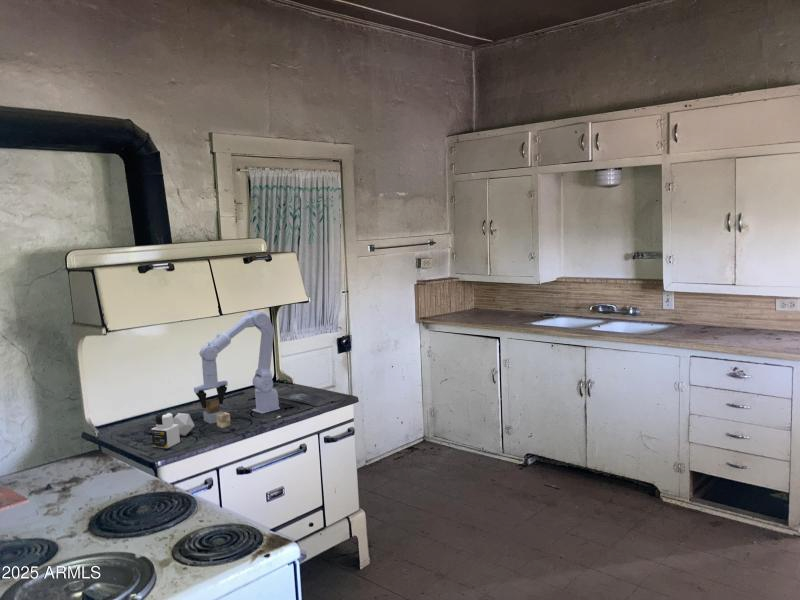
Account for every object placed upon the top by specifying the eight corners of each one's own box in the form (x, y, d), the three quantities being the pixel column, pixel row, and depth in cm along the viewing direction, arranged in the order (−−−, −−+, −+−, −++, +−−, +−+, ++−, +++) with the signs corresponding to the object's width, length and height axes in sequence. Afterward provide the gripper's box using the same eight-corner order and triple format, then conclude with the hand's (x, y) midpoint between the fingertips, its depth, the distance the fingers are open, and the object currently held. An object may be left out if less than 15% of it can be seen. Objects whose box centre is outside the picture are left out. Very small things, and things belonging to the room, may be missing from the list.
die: (199, 433, 261) (192, 410, 265) (190, 429, 252) (183, 405, 256) (179, 442, 260) (173, 419, 264) (170, 438, 252) (163, 415, 256)
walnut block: (219, 411, 275) (218, 399, 274) (211, 413, 272) (210, 402, 271) (214, 409, 277) (213, 398, 277) (206, 412, 274) (205, 400, 274)
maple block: (225, 423, 270) (224, 412, 269) (230, 425, 267) (229, 413, 266) (216, 426, 267) (216, 414, 266) (222, 428, 264) (221, 416, 264)
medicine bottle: (152, 447, 245) (149, 416, 243) (165, 440, 251) (162, 410, 250) (167, 448, 242) (164, 417, 241) (180, 442, 249) (177, 411, 247)
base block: (217, 418, 279) (216, 408, 279) (223, 420, 274) (222, 411, 274) (204, 421, 275) (203, 412, 275) (209, 424, 271) (209, 414, 270)
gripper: (220, 369, 280) (223, 400, 282) (189, 376, 270) (191, 408, 272) (229, 371, 275) (231, 403, 277) (197, 378, 265) (200, 411, 267)
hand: (212, 405), depth 274 cm, fingers open, 7 cm apart
